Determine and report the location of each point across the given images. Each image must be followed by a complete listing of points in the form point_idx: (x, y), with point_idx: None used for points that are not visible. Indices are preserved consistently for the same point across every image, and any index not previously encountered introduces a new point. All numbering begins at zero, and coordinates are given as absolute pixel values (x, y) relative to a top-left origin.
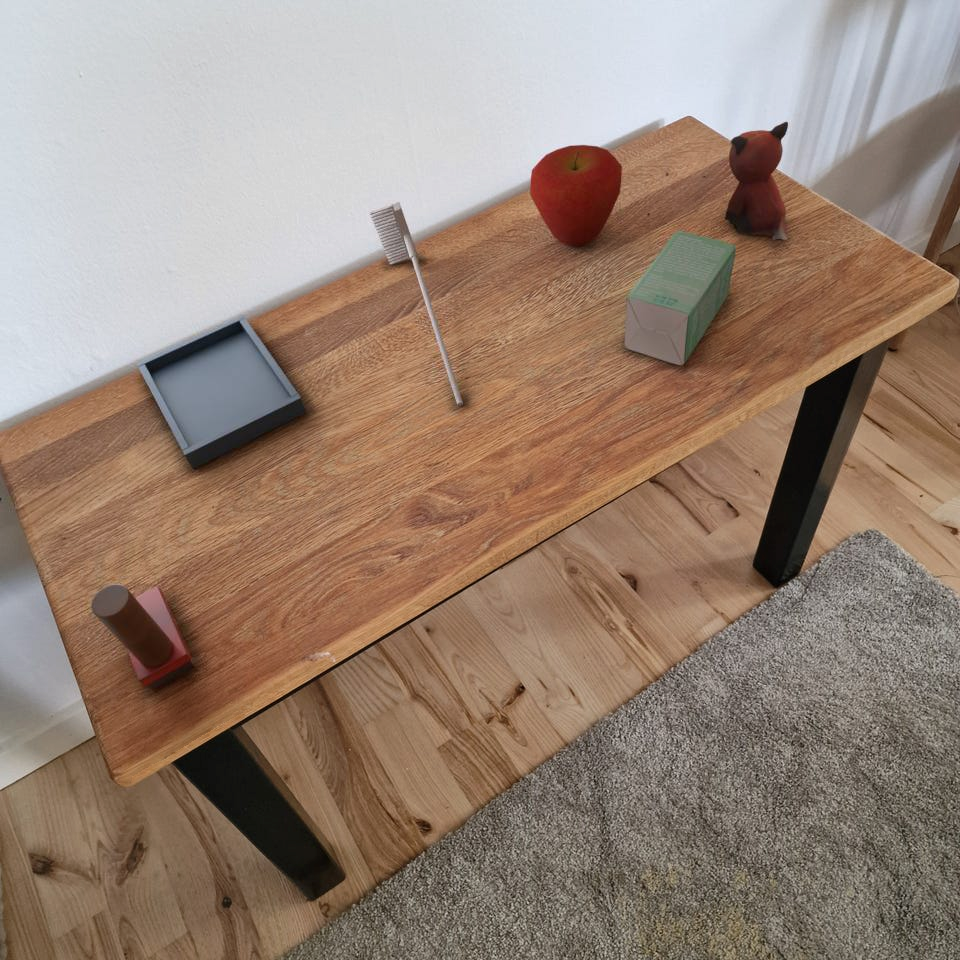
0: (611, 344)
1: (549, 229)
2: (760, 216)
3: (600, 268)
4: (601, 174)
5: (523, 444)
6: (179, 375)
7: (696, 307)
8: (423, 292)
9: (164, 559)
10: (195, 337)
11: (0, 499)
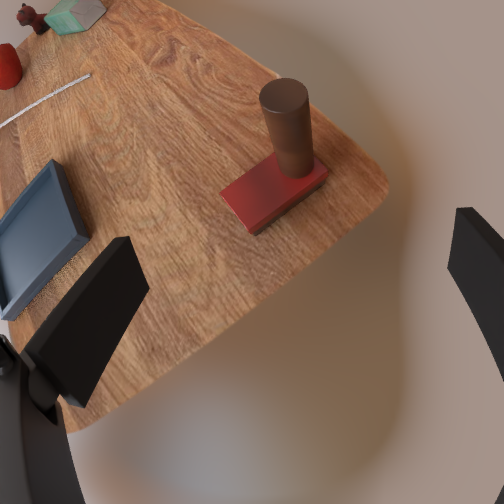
0: (81, 36)
1: (8, 82)
2: None
3: (37, 63)
4: (2, 44)
5: (129, 38)
6: (14, 284)
7: None
8: (12, 117)
9: (181, 227)
10: None
11: (116, 238)
